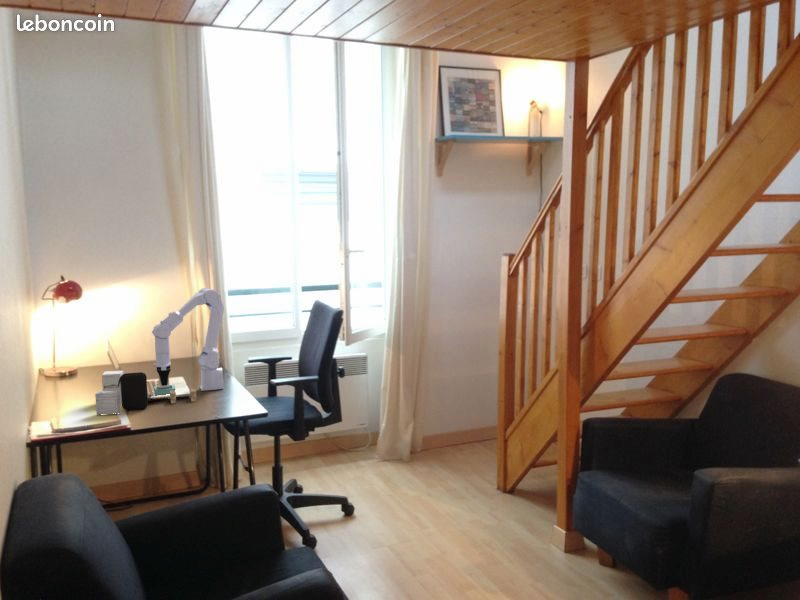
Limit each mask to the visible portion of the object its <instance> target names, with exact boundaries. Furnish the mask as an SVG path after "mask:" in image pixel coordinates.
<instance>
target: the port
mask: <svg viewBox="0 0 800 600" xmlns="http://www.w3.org/2000/svg"><path fill="white" fill-rule="evenodd" d="M169 387H170V389H160V387H159V385H156V386H154V387H153V389H154V390H153V391H154V394H155V396H157V395H166V394H170V391H173V390H176V385H175V384H169Z"/></svg>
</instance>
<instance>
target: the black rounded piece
mask: <svg viewBox="0 0 800 600" xmlns="http://www.w3.org/2000/svg"><path fill="white" fill-rule="evenodd" d="M147 380H148V379H147V374H146V373H145V372H141V371H140V372H138V371H137V372H129V373H127V372H126V373H123V375H122V376H121V377H120V379H119V382H118V386H119V384H121V398H122V404H121V408H122V409H123V410H125V411H138V410H145V409H147V408H148V407H149V397H148V381H147Z"/></svg>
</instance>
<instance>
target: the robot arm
mask: <svg viewBox="0 0 800 600" xmlns="http://www.w3.org/2000/svg"><path fill="white" fill-rule="evenodd" d="M201 305H206V306H207V308H208V309H209V310H210V314H209V315H210V316H209V321H208V326H207V332H206V337H205V342H204V346H203V348H201V352H200V354H199V356H198V360H197V362H198V364H199V366H200V384H201V385H200V386H199V387H200V392H202V391H213V390H224V383H225V382H224V373H223V372H224V371H223V368H222V367H218V366H219V365H220V359H219V350H218V343H219V338H220V332H221V327H222V322H223V321H222V320H223V316H224V310H225V307H224V304H223V301H222V296H221V294H220V293H219V292H218V290H217V289H214V288H201V289H199V291H197V292H196V293H195V294H194V295H193V296H192V297H190V299H189V300H188V301H186V303H184V304H183V306H182V307H180V309H179V310H177V311H175V310H174V311H171V312H169V313H168V316H166V317H165V318H164V319H163V320H160V321H159V323H158V324H156V325H154V327H153V329H152V331H151V333H152V335H153V336H154V349H155V351H154V352H155V362H154V363H153V366H155V367H156V372H157V373H158V377H159V376H160V380H161V384H162V386H164V385H167V384H168V376H169V377H170V372H171V370H172V369H171V365H172V363H171V353H170V351H171V350H170V336H171V333H172V332H173V331H174V330H175V329H176V328H177V327H178V326H180V325H181V324H182V323H183V322H184V318H185V317H186V316H187V315H188V314H189V313H190V312H192V311H193V310H194V309H195V308H196V307H197V306H201Z"/></svg>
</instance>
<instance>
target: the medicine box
mask: <svg viewBox="0 0 800 600" xmlns="http://www.w3.org/2000/svg"><path fill="white" fill-rule="evenodd" d="M94 396H95V408H96V416H97V415H101V414H113V413H114V414H115V413H116V414H118V413H119V414H120V413H121V412H122V404H120V391H103V390H102V391H97V393H95V394H94ZM119 414H118V415H119ZM101 416H102V415H101Z"/></svg>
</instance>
